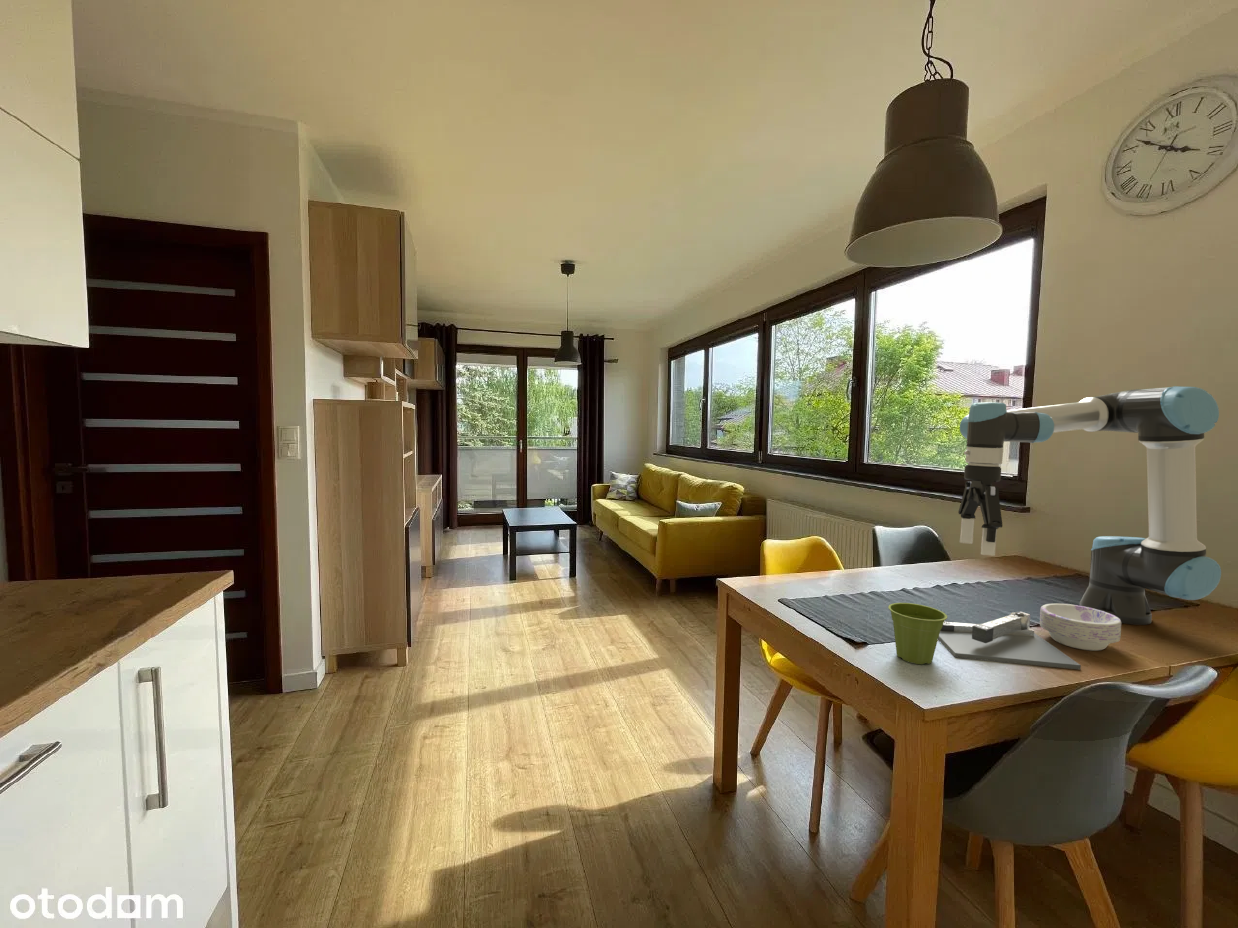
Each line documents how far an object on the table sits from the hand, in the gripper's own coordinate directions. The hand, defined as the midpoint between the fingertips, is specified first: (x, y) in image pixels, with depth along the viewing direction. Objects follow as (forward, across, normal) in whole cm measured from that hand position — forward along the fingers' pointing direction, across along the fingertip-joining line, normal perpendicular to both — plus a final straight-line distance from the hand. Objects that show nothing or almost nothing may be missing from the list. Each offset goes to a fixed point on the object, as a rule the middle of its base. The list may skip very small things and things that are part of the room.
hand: (976, 548), depth 132 cm
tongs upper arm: (+20, +2, +6) cm, 21 cm away
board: (+23, +3, +4) cm, 24 cm away
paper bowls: (+23, -4, +25) cm, 34 cm away
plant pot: (+24, +17, -17) cm, 34 cm away
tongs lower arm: (+22, -3, +4) cm, 23 cm away
